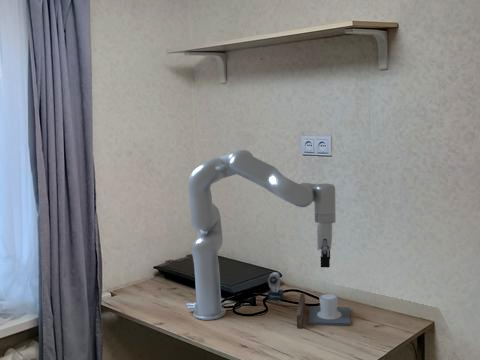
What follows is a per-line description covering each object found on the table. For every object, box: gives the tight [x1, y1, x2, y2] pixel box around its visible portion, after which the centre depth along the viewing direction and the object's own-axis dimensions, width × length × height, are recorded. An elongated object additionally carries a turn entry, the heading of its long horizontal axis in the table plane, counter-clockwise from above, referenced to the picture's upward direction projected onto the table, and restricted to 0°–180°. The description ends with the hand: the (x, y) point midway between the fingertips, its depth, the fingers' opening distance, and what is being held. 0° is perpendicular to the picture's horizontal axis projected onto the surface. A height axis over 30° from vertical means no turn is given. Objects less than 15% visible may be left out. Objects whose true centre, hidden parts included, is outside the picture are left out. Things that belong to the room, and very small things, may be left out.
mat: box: [307, 306, 351, 327], centre depth 201 cm, size 15×15×1 cm
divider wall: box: [296, 292, 306, 329], centre depth 202 cm, size 2×22×5 cm, turn 170°
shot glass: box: [318, 293, 339, 317], centre depth 200 cm, size 7×7×7 cm
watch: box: [267, 271, 285, 302], centre depth 222 cm, size 6×8×11 cm
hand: (325, 263), depth 199 cm, fingers open, 9 cm apart
